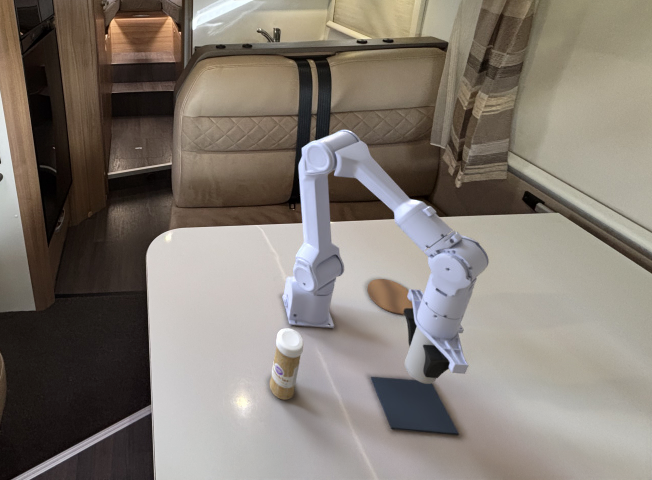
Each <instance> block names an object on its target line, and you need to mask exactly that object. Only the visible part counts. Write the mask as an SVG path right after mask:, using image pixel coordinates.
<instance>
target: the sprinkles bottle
mask: <svg viewBox="0 0 652 480" xmlns="http://www.w3.org/2000/svg"><path fill="white" fill-rule="evenodd" d="M275 339H276V340H275V345H276V346H275V352H274V358H273V362H272V368H271V376H270V380H269V389H270V391H271V393H272V394H273V395H274V396H275V397H276V398H277V399H280V400H285V401H286V400H289V399H291V398H293V397H294V395H295V386H296V383H297V379H298V378H297V377H298V372H299V367H300V363H301V362H300V360H301V355H302V354H303V351H304V345H305V341H304V339H303V337H302V335H301V334H300V333H299V332H298V331H296V330H295V329H293V328H288V327H286V328H281V329H280V330H279V331H278V332H277V334H276V338H275Z"/></svg>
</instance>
